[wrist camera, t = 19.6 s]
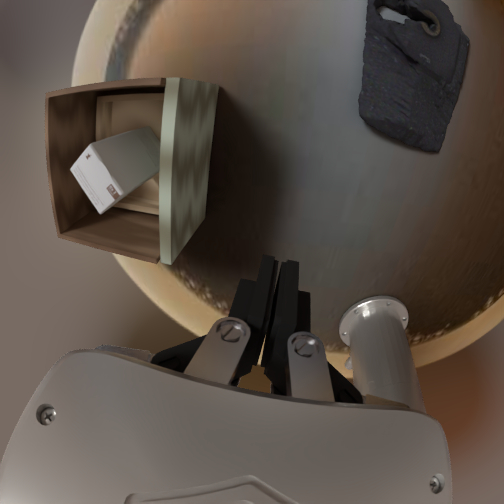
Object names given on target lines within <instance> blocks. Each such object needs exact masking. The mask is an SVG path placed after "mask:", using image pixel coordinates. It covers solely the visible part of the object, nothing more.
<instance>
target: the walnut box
mask: <svg viewBox="0 0 504 504" xmlns="http://www.w3.org/2000/svg"><path fill="white" fill-rule="evenodd" d="M165 86H166V78H143V79H129V80H118V81H109V82H101V83H94V84H88V85H82V86H76V87H71V88H66V89H61V90H56V91H52V92H48V93H46V99H45V143H46V159H47V171H48V179H49V188H50V195H51V202H52V208H53V213H54V219H55V225H56V229H57V234H58V237H59V238H62V239H66V240H69V241H72V242H76V243H80V244H83V245H87V246H90V247H94V248H97V249H101V250H105V251H108V252H112V253H116V254H120V255H124V256H127V257H131V258H135V259H139V260H143V261H147V262H151V263H155V264H157V263H158V262H159V260H160V259H161V257H160V231H159V215H157V214H151V213H146V212H140V211H135V210H129V209H124V208H118V207H111V208H109V209H108V210H107V211H105V212H104V213H103V214H99V212H98V211H97V209H96V208H95V206H94V205H93V203H92V202H91V200H90V199H89V198H88V196H87V195H86V193H85V192H84V190H83V189H82V187H81V186H80V184H79V183H78V181H77V180H76V178H75V176H74V175H73V173H72V172H71V170H70V169H71V167H72V166H73V165H74V163H75V162H76V161H77V159H78V158H79V157H80V156H81V154H82V153H83V152H84V151H85V150H86V148H87V147H88V146H89V145H90V144H91V143H94V142H96V110H97V97H100V96H110V95H124V94H150V93H165Z"/></svg>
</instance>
